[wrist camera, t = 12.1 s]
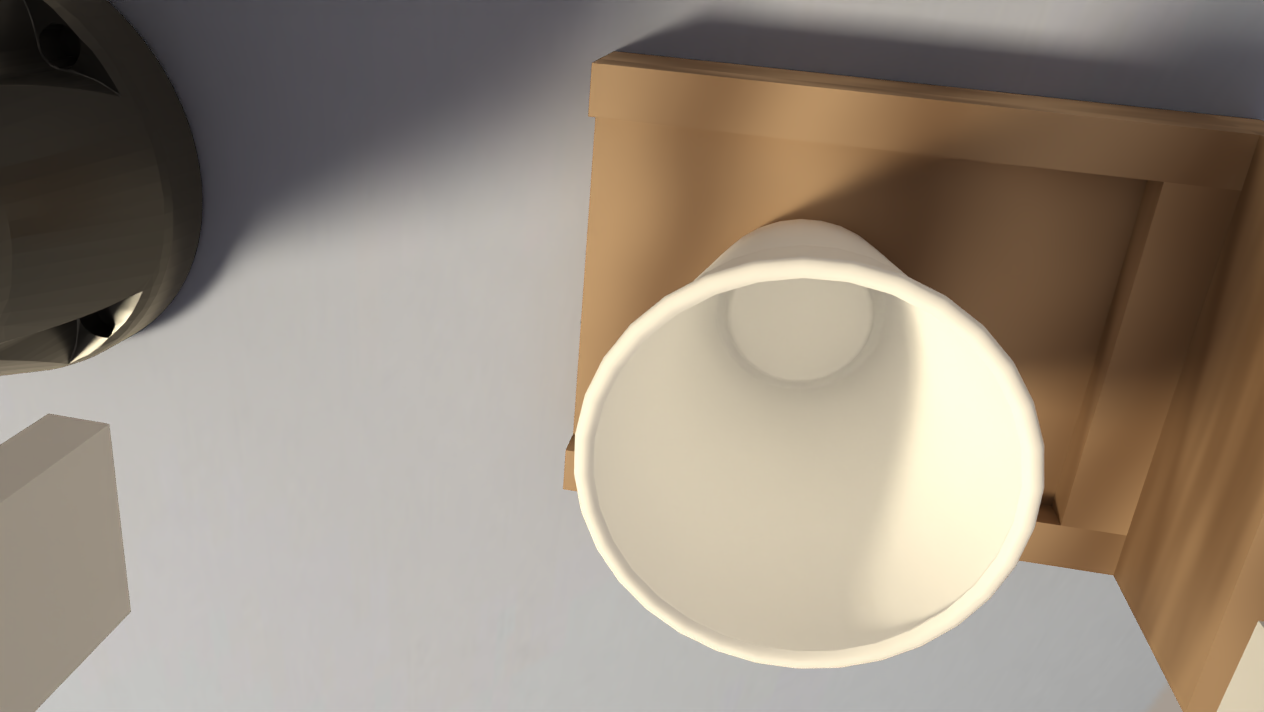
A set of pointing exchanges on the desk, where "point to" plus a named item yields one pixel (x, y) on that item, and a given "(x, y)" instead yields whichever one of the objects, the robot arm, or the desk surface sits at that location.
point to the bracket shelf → (999, 290)
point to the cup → (809, 455)
